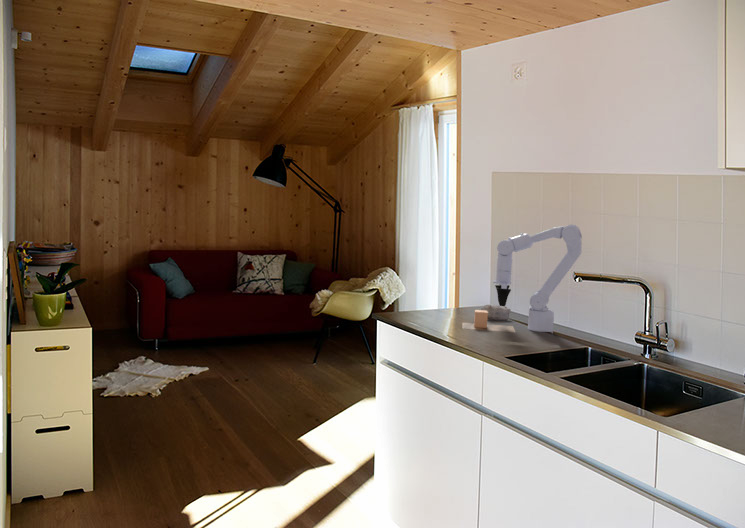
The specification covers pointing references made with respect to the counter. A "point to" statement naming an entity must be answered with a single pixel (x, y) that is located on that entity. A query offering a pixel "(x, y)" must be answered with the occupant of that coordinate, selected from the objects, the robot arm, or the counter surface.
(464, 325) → the board
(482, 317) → the light orange block
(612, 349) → the counter surface
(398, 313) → the counter surface
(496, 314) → the stone
